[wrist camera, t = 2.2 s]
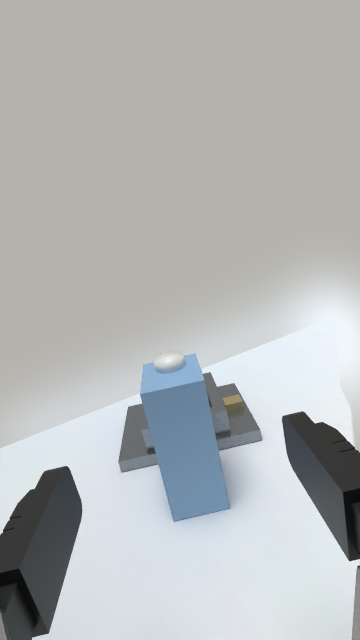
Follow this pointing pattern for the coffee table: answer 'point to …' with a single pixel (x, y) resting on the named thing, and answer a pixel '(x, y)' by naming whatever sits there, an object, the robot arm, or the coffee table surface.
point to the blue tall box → (183, 435)
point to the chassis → (228, 421)
